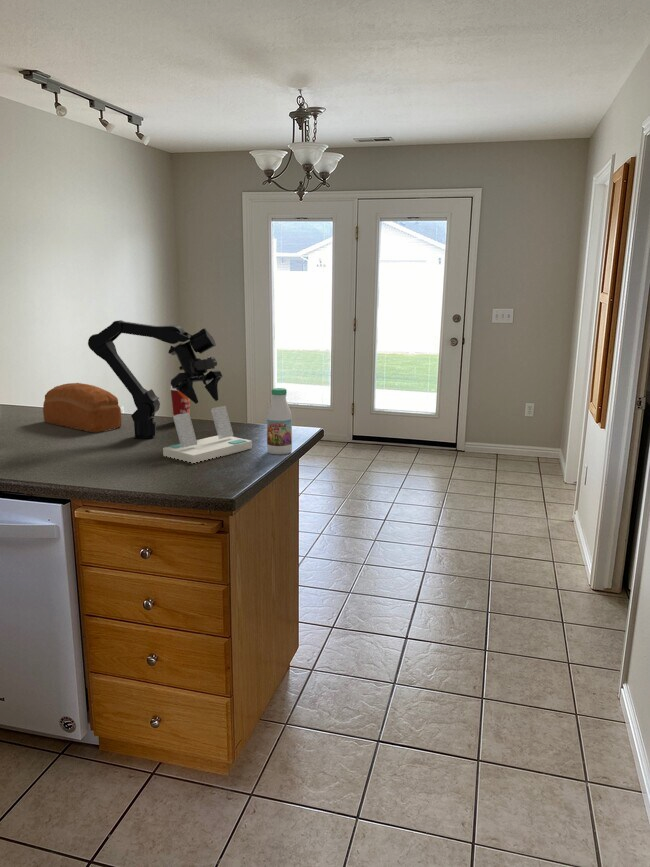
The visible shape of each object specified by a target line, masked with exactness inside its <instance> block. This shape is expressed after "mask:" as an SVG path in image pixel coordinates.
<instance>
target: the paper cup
mask: <svg viewBox="0 0 650 867" xmlns="http://www.w3.org/2000/svg"><path fill="white" fill-rule="evenodd" d="M169 390H170V394H171V395H170V396H171V405H172V414H173V416H174V415H178V414H183V413H189V414H190V412H191V410H190V408H191V407H190V406H191V403H190V402H191V399H189V398H188V397H187V396H186V395H184V394H183V393H182V392H180V391H179V390H176V388H172V386H170V388H169ZM190 415H191V414H190Z"/></svg>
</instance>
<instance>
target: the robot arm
mask: <svg viewBox="0 0 650 867" xmlns="http://www.w3.org/2000/svg"><path fill="white" fill-rule="evenodd" d="M121 334H126V335H133V336H138V337H139V336H140V337H145V338H146V337H147V338H153V339H157V340H158V341H161V342H164V343H167V344H170V348H169V349H168V352H167V353H168V354H169V355H172V356H175V355H176V357H177V359H178V362H179V364H180V366H179V368H178V369H179V371H183V372H179V373H178V374H176V375H175V376H173V377H172V378H171V379H170V385H171V386H172V388H176V390H179V391H180V392H182V393H183V394H184V395H186V396H187V397H188V398H189V399H190V401H192V402H193V403H194V404H198V403H199V399H198V397H197V394H196V392H195V389H194V387H193V386H194V385H193V384H194V383H196V382H202V383H203V384H204V389H205V390H207V393H209V395H210V396H211V398H212V399H213V400H214V401H215V402H218V400H219V392H218V391H219V390H218V384H219V381H221V379H222V378H223V373H222V372H221V371H220V370H214V369H216V368H215V367H217V366H218V361H217V359H216V357H215V356H210V357H209V356H208V357H207V358H204V359H201V358H197V356H196V355H197V353H199V354H200V355H201V354H204V353H205V352H207V351H209V350H211V349H213V348H214V347H216V344H217V343H216V341H215V339H214V337H213V336H212V335H211V333H210V332H209V331H208V330H207V328H206V327H204V328H202V329H200V330H199V331H198V332H196V333H194V334H191V333H189V332H187V331H185V330H184V328H183V327H182V326H181V325H178V324H174V325H152V324H151V325H150V324H146V323H145V324H143V323H137V322H130V321H124V320H123V319H121V320H114V321H113V322H112V323H111V324H110V325H108V326H107V327H106V328H104V329H103V330H100V331H99V332H98V333H95V334H92V335H90V337H89V338H88V341H87V346H88V348H89V349H90V350H91V351H92V352H93V353H94V354H95V355H96V356H98V357H99V358H100V359H101V360H103V361H104V362H106V364H107V365H108V366H109V367H110V369H112V372H114V374H115V375H116V376H117V378H118V379H119V381H121V383H122V384H123V386H124V387H125V388H126V390H127V391H128V392H129V394H131V396H132V400H133V403H134V406H135V407H136V410H135V411H134V412H133V413H132V414H131V419H132V421H133V426H134V430H133V431H134V436H133V439H134V440H135V439H154V438H155V436H156V435H157V422H156V421H155V418H154V417H155V415H156V414H157V412H159V410H160V407H161V402H160V398H159V397H158V396H157V395H156V393H155V391H154V389H152V388H151V389H149V390H147V389H146V388H144V387H143V386H142V384H141V383H140V382H139V380H138V379H137V378H136V377H135V375H134V373H133V372H132V371H131V370H130V369H129V366H127V364H126V363H125V362H124V361H123V359H122V358H121V356H120V355H119V354H118V352H117V347H116V345H115V343H114V341H115V340H117V339H118V338H119V336H120V335H121ZM171 344H172V345H171ZM175 344H177V345H175ZM173 345H174V346H173ZM195 353H196V354H195ZM212 369H213V370H212ZM208 370H210V371H209V372H208ZM171 386H170V387H171Z"/></svg>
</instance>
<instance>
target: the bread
mask: <svg viewBox="0 0 650 867" xmlns="http://www.w3.org/2000/svg"><path fill="white" fill-rule="evenodd" d="M42 412H43V420H44V422H45V423H47V424H51V425H56V426H60V427H64V426H65V428H69V427H70V428H69V429H73V428H74V429H73V430H78V429H79V431H82V430H84V432H87V431H89V432H88V433H100V432H99V431H104V432H106V431H105V430H109V429H114V428H117V429H119V428H118V427H122V422H123V421H122V419H123V418H122V409H121V406H120V405H119V398H118V397H117V396H116V395H114V394H113V393H111V392H110V391H108V390H105V388H104V389H103V388H102V387H98V386H96V385H92V384H87V383H82V382H80V383H79V382H73V383H72V382H71V383H63V384H60V385H57V386H54V387H53V388H51V389H49V390H48V391H47V392H46V394H45V395H44V401H43V406H42ZM114 430H115V429H114Z"/></svg>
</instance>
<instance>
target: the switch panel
mask: <svg viewBox="0 0 650 867" xmlns="http://www.w3.org/2000/svg"><path fill="white" fill-rule="evenodd" d="M196 440H197V445H193V446H189V447H184V448H181V445H180V443H176V444H171V445H169V446H165V447H163V448H162V453H163V454H162V455H163V457H166V456H167V457H166V458H170V457H171V459H174V458H175V459H174V460H177V459H179V460H178V461H181V460H183V461H182V462H185V461H187V462H186V463H189V462H191V463H190V464H193V463H195V464H197V463H196V462H198V463H201V462H200V461H202V462H205V461H204V460H206V461H209V460H208V459H210V460H213V459H217V458H220V456H221V457H224V456H225V457H226V456H228V455H233V454H236V453H239V452H244V451H246V450H247V451H248V450H250V449H253V440H251V439H246V438H245V439H244V438H242V437H236V436H231V437H227V438H223V439H219V438H218V434H217V435H214V436H208V437H204V438H201V439H196ZM216 457H217V458H216ZM212 458H213V459H212Z"/></svg>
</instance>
